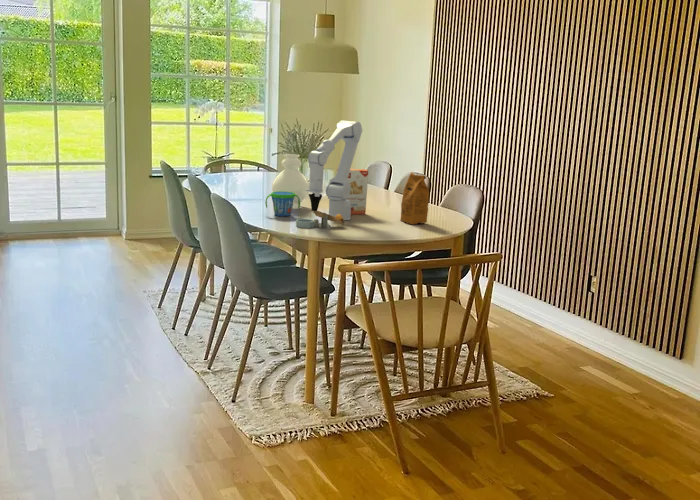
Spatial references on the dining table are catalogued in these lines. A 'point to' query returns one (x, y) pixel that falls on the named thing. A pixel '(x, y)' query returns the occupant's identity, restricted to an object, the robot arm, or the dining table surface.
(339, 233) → the dining table surface
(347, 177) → the robot arm
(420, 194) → the coffee package
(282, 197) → the snack cup
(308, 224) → the grey octagonal bowl
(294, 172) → the decorative vase
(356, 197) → the cracker box
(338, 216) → the ball
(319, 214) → the lever
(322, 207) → the dining table surface
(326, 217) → the fulcrum
